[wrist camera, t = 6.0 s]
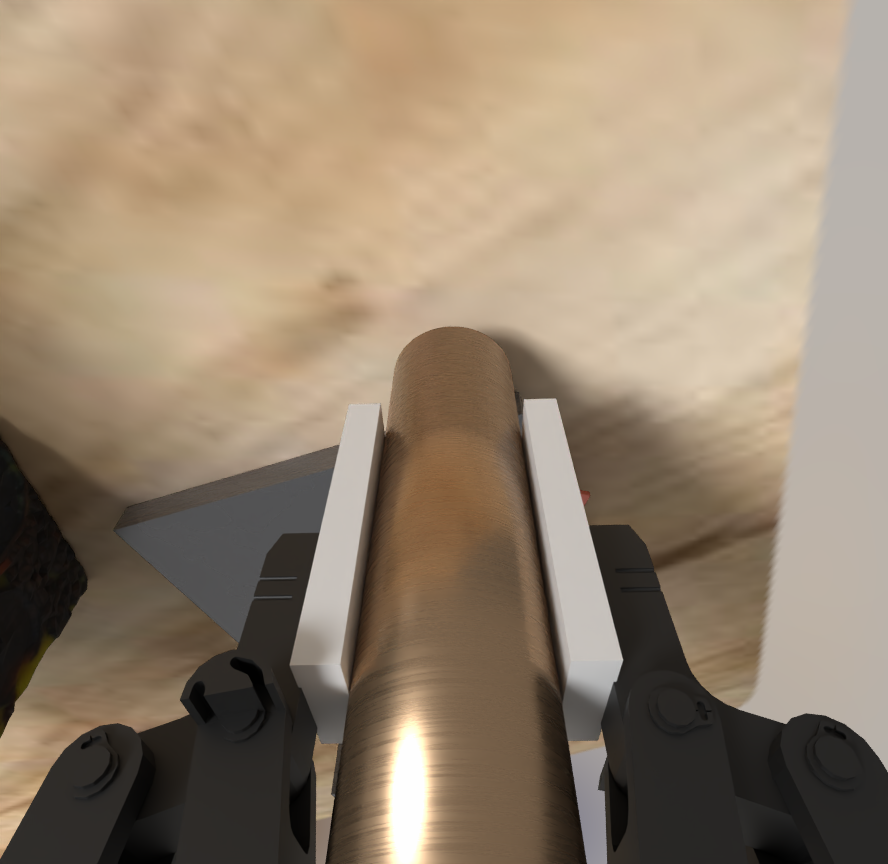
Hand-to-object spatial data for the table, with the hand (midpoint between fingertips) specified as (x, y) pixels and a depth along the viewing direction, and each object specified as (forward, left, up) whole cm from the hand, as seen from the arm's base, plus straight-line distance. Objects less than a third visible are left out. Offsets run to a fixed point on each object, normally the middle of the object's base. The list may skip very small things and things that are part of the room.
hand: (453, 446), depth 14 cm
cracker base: (+14, -6, -5) cm, 16 cm away
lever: (+10, -3, -3) cm, 11 cm away
